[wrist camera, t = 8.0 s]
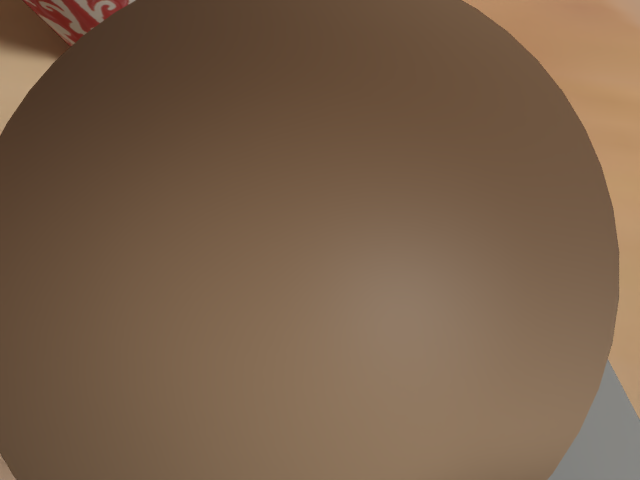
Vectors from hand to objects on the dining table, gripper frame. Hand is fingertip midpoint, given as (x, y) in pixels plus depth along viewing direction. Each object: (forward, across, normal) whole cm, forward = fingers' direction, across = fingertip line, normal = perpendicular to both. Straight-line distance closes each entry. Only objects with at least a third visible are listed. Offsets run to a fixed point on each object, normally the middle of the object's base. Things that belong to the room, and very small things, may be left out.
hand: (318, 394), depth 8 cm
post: (+7, 0, +5) cm, 9 cm away
